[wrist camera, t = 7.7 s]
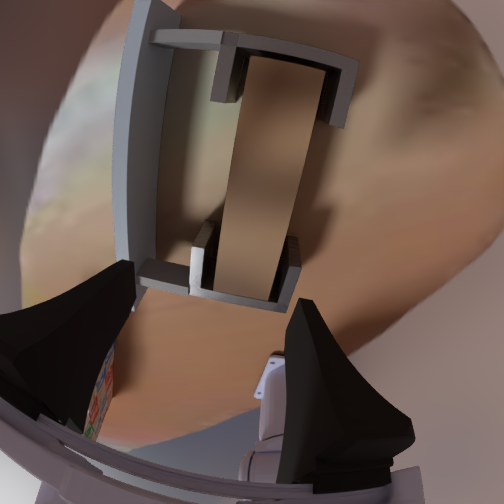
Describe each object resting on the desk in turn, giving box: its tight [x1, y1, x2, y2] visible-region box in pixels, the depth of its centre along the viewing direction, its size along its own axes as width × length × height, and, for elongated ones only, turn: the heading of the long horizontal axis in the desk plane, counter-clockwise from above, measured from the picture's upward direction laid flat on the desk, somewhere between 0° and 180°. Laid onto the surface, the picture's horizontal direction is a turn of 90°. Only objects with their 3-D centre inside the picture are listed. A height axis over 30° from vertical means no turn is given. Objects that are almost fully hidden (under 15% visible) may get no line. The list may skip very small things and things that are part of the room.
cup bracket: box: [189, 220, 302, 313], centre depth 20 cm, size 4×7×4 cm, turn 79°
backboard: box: [112, 0, 224, 312], centre depth 16 cm, size 21×5×5 cm, turn 169°
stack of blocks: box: [82, 341, 115, 442], centre depth 29 cm, size 21×6×12 cm, turn 156°
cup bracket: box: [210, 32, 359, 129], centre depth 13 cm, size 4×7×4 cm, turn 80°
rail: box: [213, 56, 325, 301], centre depth 16 cm, size 14×4×5 cm, turn 170°
